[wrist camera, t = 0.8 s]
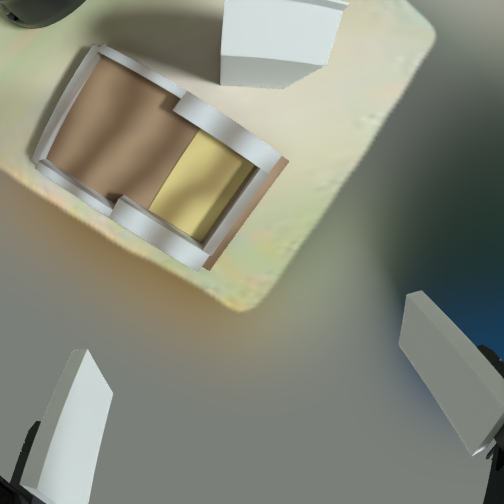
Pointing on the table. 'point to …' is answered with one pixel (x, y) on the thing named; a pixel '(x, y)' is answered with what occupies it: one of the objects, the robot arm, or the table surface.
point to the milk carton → (276, 40)
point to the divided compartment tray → (155, 157)
